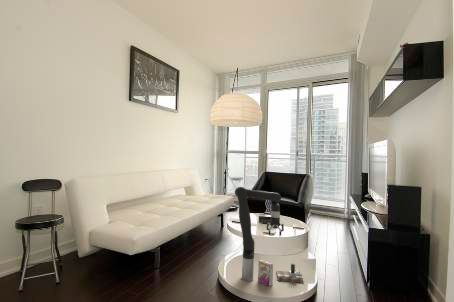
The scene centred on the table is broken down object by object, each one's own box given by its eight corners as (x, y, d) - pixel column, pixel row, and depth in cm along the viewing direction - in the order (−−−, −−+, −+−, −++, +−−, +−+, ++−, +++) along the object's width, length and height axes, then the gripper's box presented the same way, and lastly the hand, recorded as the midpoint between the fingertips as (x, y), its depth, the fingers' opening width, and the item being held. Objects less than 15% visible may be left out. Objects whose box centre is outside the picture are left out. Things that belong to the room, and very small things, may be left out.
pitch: (278, 281, 192) (278, 275, 192) (276, 272, 207) (276, 267, 208) (303, 283, 190) (303, 277, 190) (299, 274, 205) (299, 269, 206)
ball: (298, 270, 198) (300, 275, 198) (297, 268, 202) (299, 273, 202) (294, 272, 198) (296, 277, 198) (293, 270, 202) (295, 275, 202)
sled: (289, 278, 192) (290, 265, 193) (287, 272, 203) (288, 259, 204) (296, 279, 191) (296, 265, 192) (293, 273, 203) (293, 260, 203)
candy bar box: (257, 281, 189) (258, 260, 190) (261, 279, 192) (262, 259, 194) (269, 287, 181) (269, 265, 182) (272, 285, 184) (273, 263, 186)
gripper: (267, 216, 199) (266, 236, 198) (284, 217, 198) (283, 237, 197) (266, 214, 207) (266, 233, 206) (283, 216, 205) (282, 234, 204)
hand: (274, 235), depth 201 cm, fingers open, 8 cm apart
